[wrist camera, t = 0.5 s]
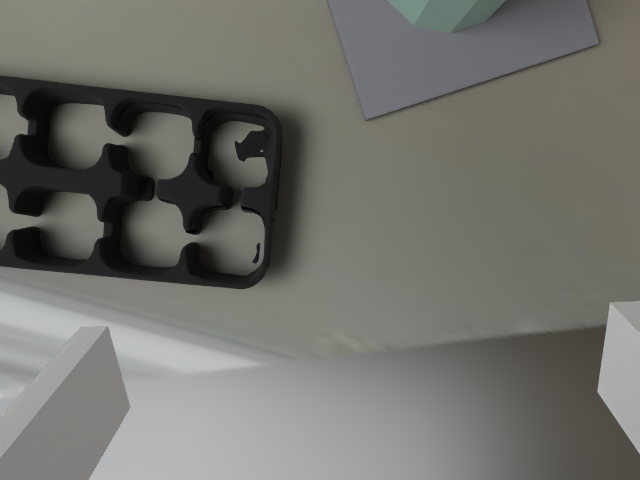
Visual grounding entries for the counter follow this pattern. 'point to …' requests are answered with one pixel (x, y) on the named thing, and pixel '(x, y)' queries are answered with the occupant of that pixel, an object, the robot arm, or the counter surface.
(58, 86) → the egg carton
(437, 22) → the faceted lidded jar
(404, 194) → the counter surface
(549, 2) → the mat
